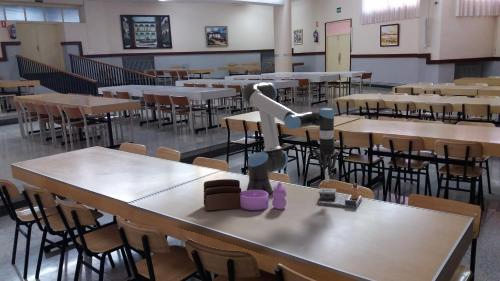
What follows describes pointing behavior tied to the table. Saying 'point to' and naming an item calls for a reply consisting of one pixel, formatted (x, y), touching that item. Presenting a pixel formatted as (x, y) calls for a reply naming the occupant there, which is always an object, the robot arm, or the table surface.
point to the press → (341, 201)
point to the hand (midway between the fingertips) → (327, 181)
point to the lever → (354, 192)
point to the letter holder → (222, 194)
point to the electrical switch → (327, 193)
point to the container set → (263, 198)
